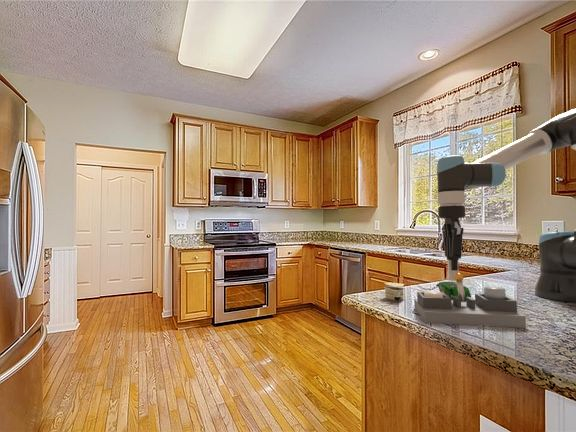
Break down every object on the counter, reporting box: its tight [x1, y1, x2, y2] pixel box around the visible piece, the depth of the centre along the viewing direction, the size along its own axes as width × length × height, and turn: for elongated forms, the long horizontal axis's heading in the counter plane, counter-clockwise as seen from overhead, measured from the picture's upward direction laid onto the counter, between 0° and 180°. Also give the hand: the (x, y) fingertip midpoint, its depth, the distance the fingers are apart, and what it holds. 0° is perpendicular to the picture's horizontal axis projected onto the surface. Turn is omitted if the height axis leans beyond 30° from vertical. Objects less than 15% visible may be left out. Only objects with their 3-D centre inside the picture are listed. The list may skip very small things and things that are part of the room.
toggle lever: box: [454, 272, 466, 302], centre depth 88 cm, size 3×3×8 cm
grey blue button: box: [483, 285, 507, 300], centre depth 84 cm, size 5×5×3 cm
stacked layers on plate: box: [383, 281, 406, 301], centre depth 107 cm, size 10×9×6 cm
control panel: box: [413, 291, 527, 329], centre depth 86 cm, size 24×14×6 cm, turn 78°
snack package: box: [436, 281, 472, 300], centre depth 108 cm, size 7×16×5 cm, turn 171°
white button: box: [423, 290, 443, 298], centre depth 87 cm, size 5×5×3 cm
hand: (453, 280), depth 94 cm, fingers closed
